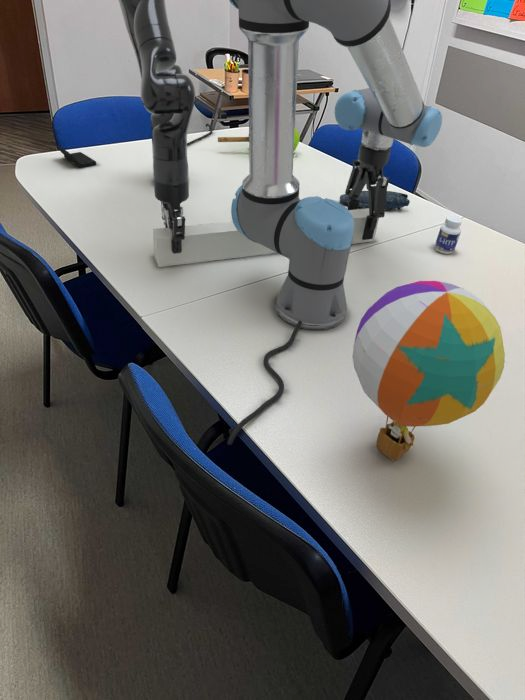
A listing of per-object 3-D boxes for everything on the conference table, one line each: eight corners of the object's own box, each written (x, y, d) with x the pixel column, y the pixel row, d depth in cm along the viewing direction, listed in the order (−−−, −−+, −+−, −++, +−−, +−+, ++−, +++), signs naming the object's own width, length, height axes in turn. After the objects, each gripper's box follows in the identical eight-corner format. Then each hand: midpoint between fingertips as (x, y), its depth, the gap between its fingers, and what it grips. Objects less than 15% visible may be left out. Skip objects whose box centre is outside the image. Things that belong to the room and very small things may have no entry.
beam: (364, 233, 145) (370, 208, 140) (373, 241, 141) (379, 215, 137) (154, 257, 126) (152, 228, 121) (158, 267, 122) (157, 238, 118)
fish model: (408, 214, 157) (412, 198, 153) (339, 207, 158) (341, 191, 154) (406, 206, 162) (410, 190, 159) (339, 199, 163) (341, 183, 160)
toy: (305, 441, 83) (335, 280, 64) (382, 391, 94) (427, 241, 75) (403, 527, 72) (474, 363, 53) (477, 460, 83) (558, 303, 64)
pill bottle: (433, 251, 139) (442, 220, 133) (435, 243, 143) (444, 213, 137) (453, 256, 138) (464, 225, 132) (454, 247, 142) (465, 217, 136)
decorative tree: (215, 117, 188) (295, 117, 193) (215, 147, 195) (292, 146, 200) (221, 131, 174) (307, 131, 180) (221, 163, 181) (304, 161, 186)
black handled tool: (101, 157, 170) (79, 135, 162) (89, 175, 169) (67, 154, 161) (80, 153, 176) (58, 132, 168) (69, 170, 175) (46, 149, 167)
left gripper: (147, 165, 116) (151, 234, 127) (161, 190, 106) (164, 263, 117) (179, 163, 119) (181, 231, 129) (196, 188, 109) (197, 259, 119)
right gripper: (341, 132, 133) (328, 215, 147) (386, 161, 117) (366, 251, 131) (366, 131, 135) (351, 213, 149) (413, 159, 120) (391, 247, 134)
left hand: (173, 246), depth 123 cm, fingers open, 5 cm apart
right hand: (358, 230), depth 140 cm, fingers open, 9 cm apart
